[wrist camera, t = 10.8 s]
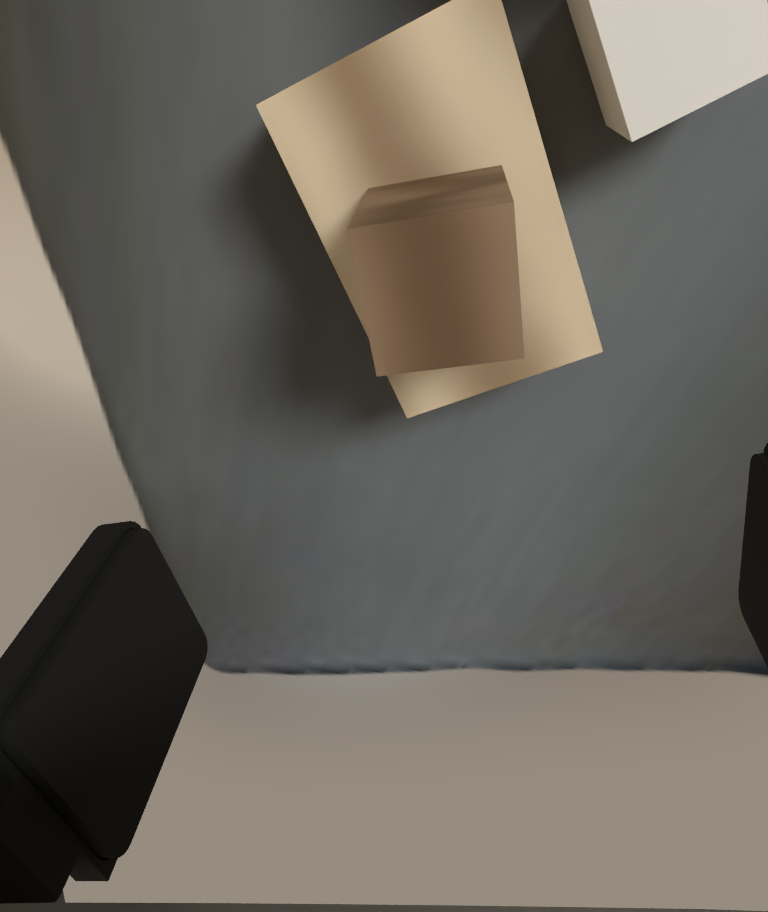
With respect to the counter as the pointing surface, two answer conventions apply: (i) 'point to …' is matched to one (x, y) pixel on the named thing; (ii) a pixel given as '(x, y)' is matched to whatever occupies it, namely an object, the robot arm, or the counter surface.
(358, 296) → the maple block
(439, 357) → the walnut block
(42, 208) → the counter surface
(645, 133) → the offwhite cube
